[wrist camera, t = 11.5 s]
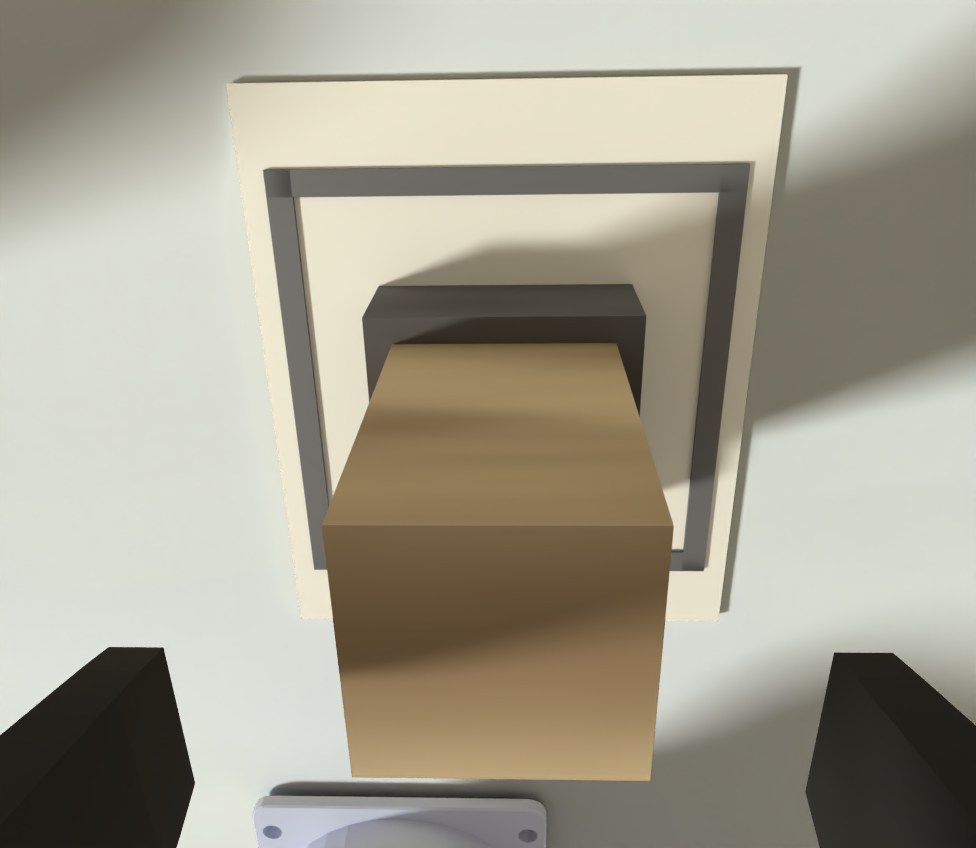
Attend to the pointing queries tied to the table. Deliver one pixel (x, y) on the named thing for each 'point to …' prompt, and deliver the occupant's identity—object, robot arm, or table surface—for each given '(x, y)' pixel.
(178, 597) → the table surface
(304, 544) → the marked card
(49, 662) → the table surface
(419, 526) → the stamp
